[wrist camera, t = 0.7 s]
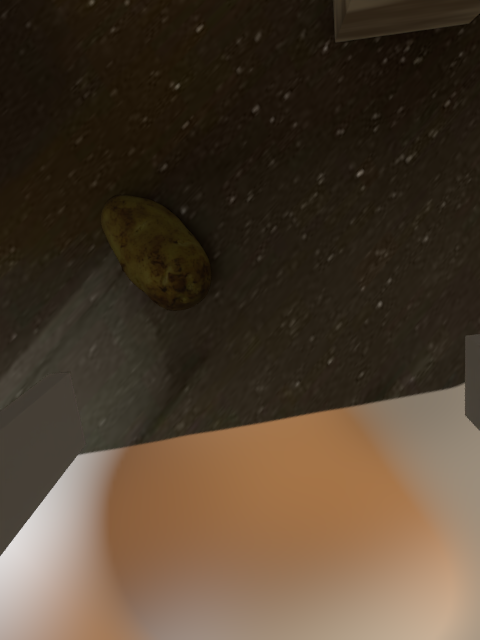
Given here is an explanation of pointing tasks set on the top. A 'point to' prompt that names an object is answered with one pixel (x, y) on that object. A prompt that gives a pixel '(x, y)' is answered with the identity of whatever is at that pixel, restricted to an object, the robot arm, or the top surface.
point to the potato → (156, 251)
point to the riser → (398, 16)
